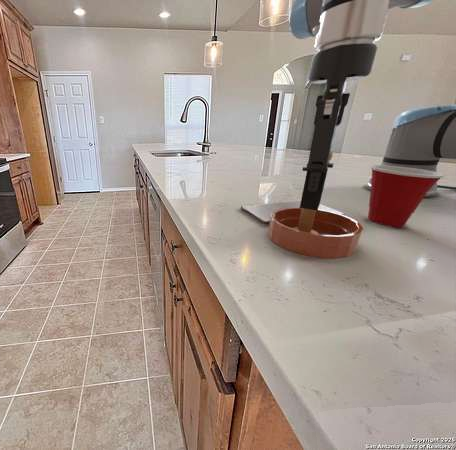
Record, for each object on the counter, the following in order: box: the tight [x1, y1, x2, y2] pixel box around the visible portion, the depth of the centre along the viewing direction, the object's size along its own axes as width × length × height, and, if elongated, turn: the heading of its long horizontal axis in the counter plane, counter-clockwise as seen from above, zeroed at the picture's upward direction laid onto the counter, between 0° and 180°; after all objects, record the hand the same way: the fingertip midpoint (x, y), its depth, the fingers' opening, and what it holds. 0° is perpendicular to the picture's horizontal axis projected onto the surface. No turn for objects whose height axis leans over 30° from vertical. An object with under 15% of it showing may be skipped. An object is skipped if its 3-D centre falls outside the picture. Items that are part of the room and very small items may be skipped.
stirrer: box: [293, 148, 334, 234], centre depth 43 cm, size 5×5×17 cm
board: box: [240, 200, 346, 225], centre depth 60 cm, size 20×11×1 cm, turn 99°
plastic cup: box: [367, 164, 445, 229], centre depth 51 cm, size 11×11×12 cm
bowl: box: [267, 208, 364, 259], centre depth 46 cm, size 14×14×4 cm
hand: (309, 206), depth 44 cm, fingers closed on stirrer, 2 cm apart
